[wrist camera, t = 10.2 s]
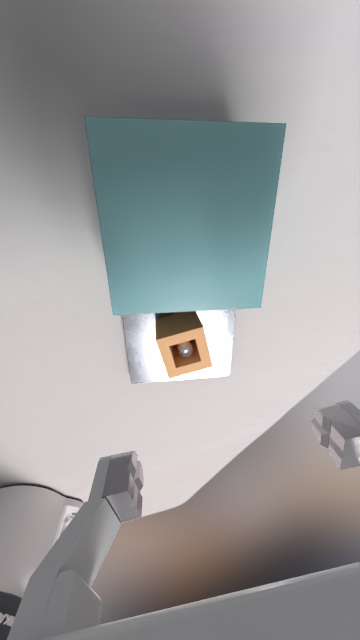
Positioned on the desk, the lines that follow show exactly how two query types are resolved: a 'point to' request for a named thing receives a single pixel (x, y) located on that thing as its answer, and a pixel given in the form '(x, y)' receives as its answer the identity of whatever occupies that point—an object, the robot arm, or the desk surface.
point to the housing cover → (184, 210)
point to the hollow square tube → (181, 331)
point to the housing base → (147, 355)
